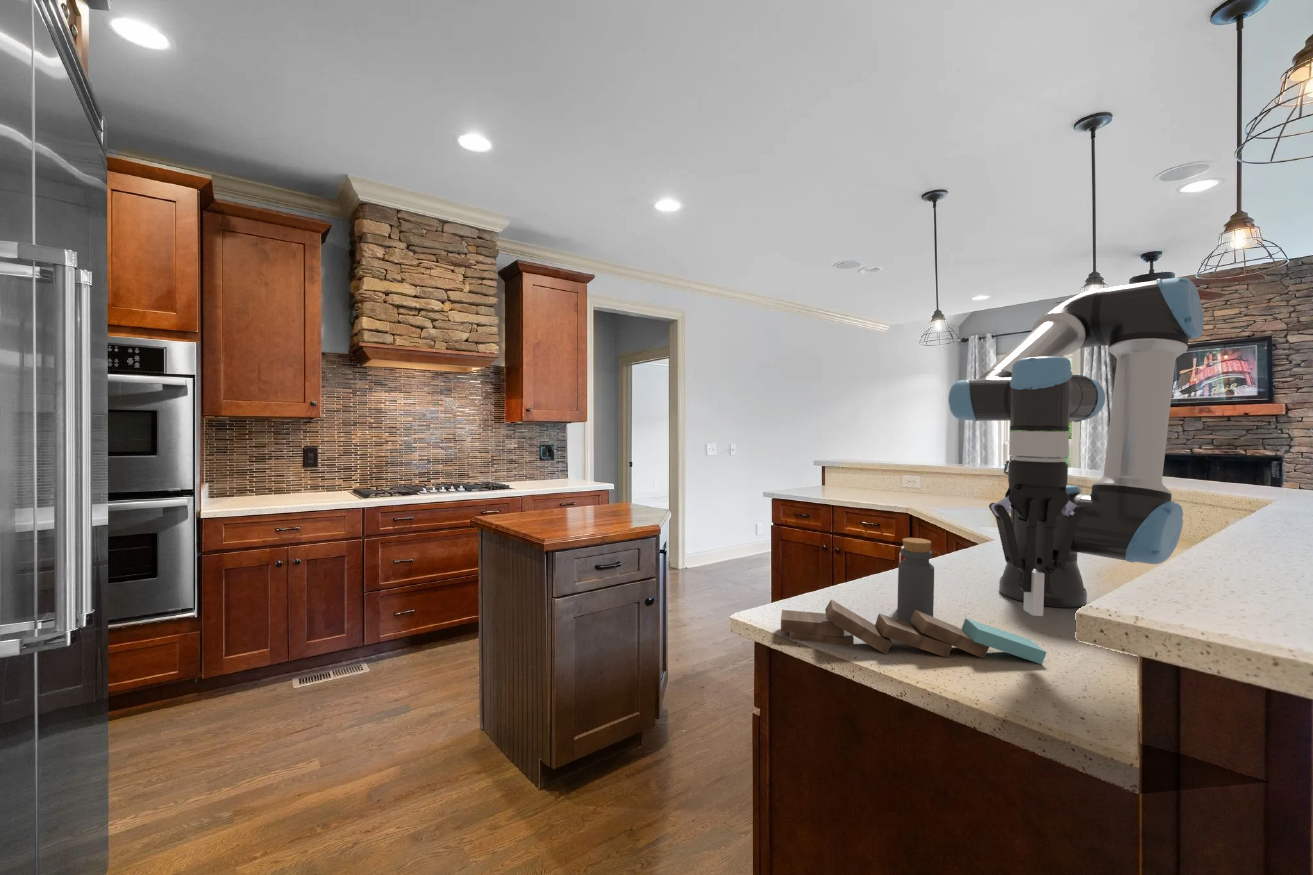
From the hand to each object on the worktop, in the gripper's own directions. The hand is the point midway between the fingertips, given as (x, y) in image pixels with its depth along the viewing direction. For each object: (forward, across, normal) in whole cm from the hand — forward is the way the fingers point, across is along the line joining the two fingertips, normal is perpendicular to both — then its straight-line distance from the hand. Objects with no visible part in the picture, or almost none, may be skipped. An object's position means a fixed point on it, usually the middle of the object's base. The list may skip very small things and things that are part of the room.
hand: (1033, 612), depth 88 cm
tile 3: (+6, +13, 0) cm, 14 cm away
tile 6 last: (+7, +26, -3) cm, 27 cm away
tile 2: (+6, +7, -1) cm, 9 cm away
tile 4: (+6, +21, 0) cm, 22 cm away
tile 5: (+5, +28, -4) cm, 28 cm away
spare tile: (+6, 0, 0) cm, 6 cm away
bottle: (+7, +13, -13) cm, 20 cm away
